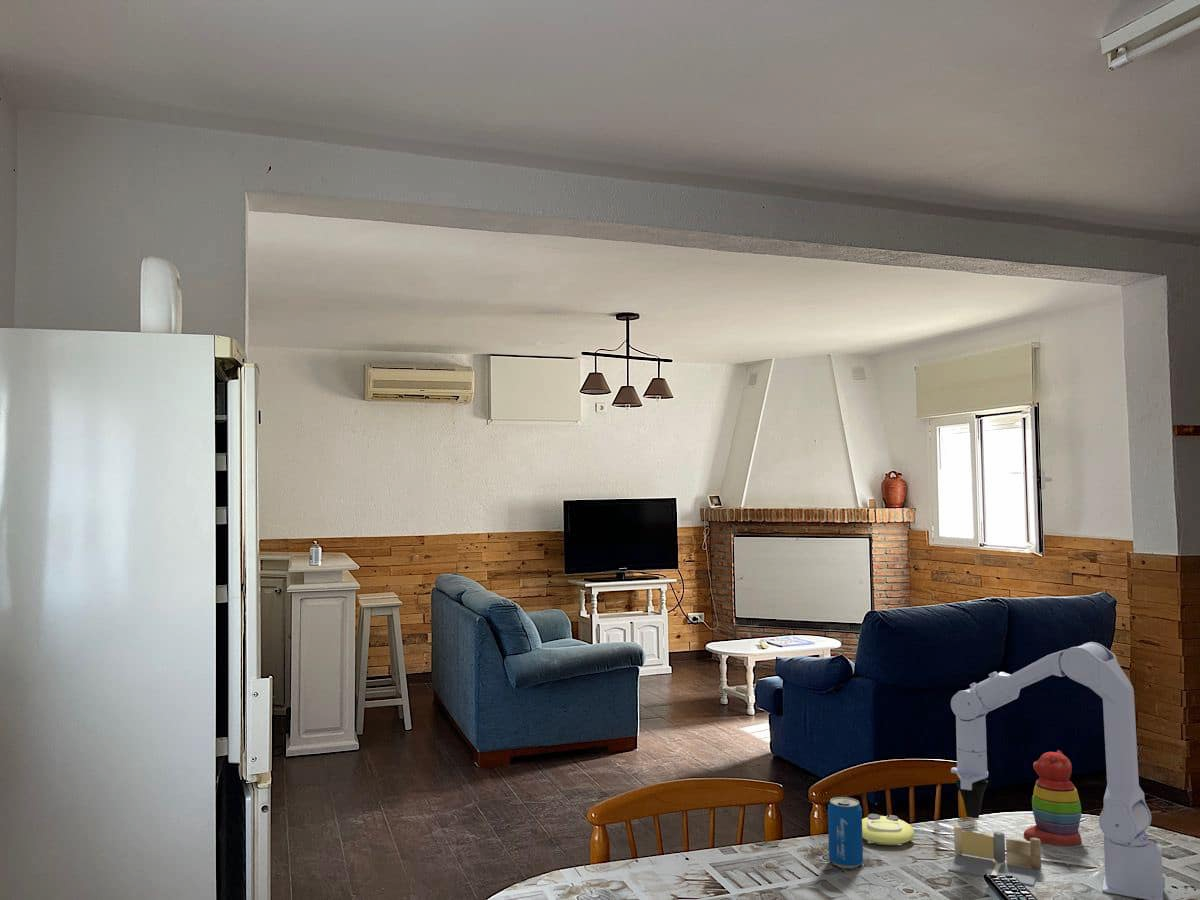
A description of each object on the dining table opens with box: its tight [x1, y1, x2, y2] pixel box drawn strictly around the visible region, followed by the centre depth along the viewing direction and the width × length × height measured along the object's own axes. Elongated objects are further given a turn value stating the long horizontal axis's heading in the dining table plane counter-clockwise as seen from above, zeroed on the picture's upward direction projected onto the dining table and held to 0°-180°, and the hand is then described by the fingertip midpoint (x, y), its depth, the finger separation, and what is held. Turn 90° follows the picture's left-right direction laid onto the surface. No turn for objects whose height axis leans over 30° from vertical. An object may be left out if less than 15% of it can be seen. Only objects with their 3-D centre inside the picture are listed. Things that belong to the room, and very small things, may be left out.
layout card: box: [947, 854, 1040, 887], centre depth 184 cm, size 15×13×1 cm
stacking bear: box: [1023, 749, 1082, 846], centre depth 201 cm, size 11×10×18 cm
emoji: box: [862, 813, 916, 846], centre depth 201 cm, size 4×12×12 cm
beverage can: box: [827, 796, 864, 869], centre depth 187 cm, size 6×6×12 cm
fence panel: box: [953, 825, 1006, 862], centre depth 188 cm, size 9×2×5 cm, turn 59°
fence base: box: [1005, 837, 1042, 871], centre depth 184 cm, size 6×2×5 cm, turn 59°
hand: (973, 816), depth 194 cm, fingers closed
